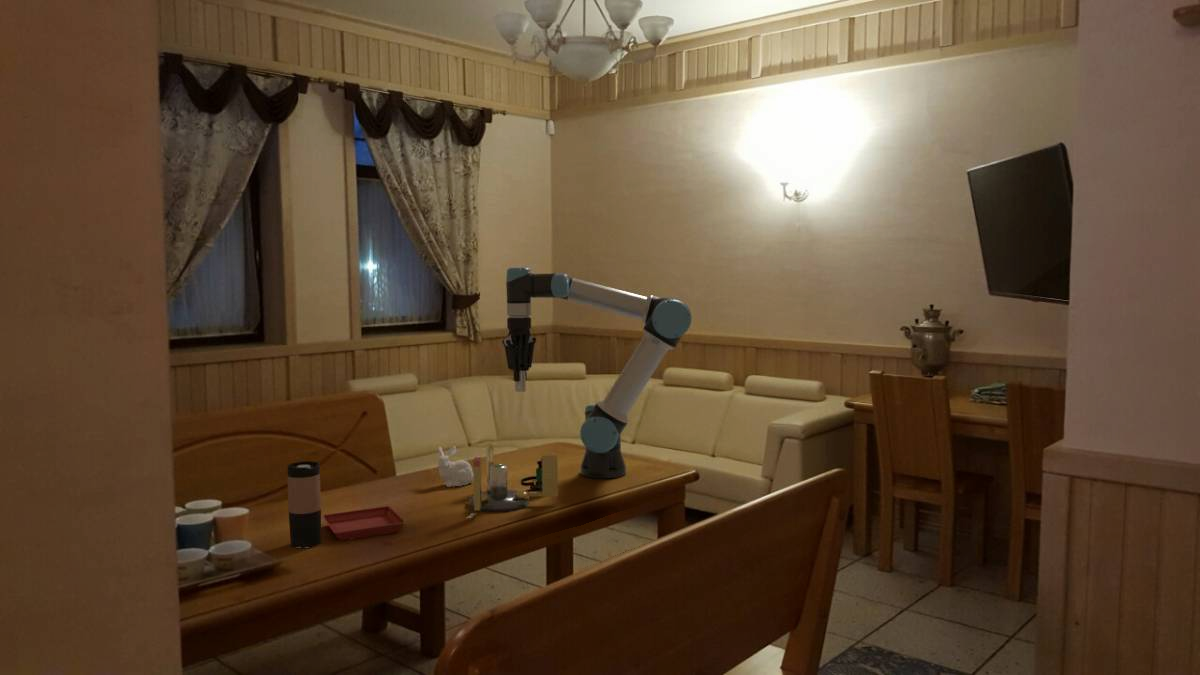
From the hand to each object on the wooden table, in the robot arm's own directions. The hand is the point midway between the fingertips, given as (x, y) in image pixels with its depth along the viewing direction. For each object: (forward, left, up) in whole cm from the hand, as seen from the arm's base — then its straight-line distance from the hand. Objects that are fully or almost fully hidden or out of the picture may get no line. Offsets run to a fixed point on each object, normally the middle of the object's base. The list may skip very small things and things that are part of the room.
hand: (520, 391), depth 276 cm
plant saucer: (+22, +58, -30) cm, 69 cm away
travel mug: (+29, +73, -30) cm, 84 cm away
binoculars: (-9, +11, -30) cm, 33 cm away
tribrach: (-6, +27, -29) cm, 40 cm away
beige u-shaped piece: (-1, +36, -27) cm, 45 cm away
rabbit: (+20, +8, -30) cm, 37 cm away
